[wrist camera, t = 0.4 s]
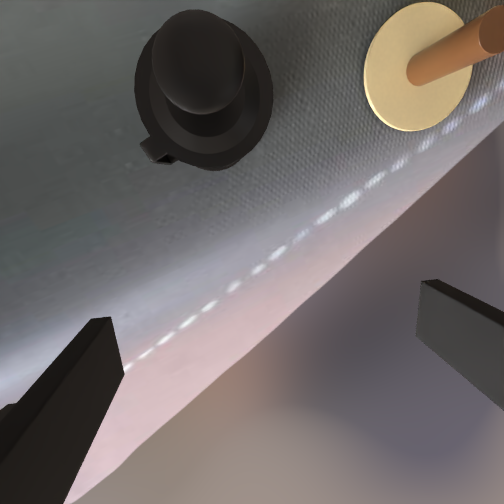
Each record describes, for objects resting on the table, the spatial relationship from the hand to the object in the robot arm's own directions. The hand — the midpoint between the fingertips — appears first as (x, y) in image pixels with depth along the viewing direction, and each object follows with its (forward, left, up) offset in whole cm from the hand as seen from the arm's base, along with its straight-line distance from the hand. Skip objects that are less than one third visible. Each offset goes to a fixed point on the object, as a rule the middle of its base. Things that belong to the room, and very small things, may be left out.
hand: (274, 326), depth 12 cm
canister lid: (-16, +24, -26) cm, 39 cm away
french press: (-11, -2, -27) cm, 30 cm away
